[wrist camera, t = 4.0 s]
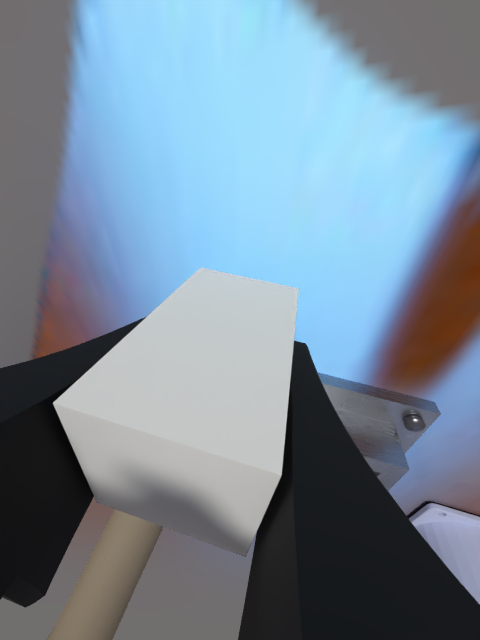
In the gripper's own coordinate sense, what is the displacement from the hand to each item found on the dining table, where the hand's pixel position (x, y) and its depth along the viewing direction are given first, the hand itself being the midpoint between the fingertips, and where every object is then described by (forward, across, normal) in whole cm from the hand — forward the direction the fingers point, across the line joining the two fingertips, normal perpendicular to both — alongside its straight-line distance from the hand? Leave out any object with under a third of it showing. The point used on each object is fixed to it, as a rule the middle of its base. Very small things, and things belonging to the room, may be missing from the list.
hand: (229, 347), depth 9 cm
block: (+2, 0, 0) cm, 2 cm away
